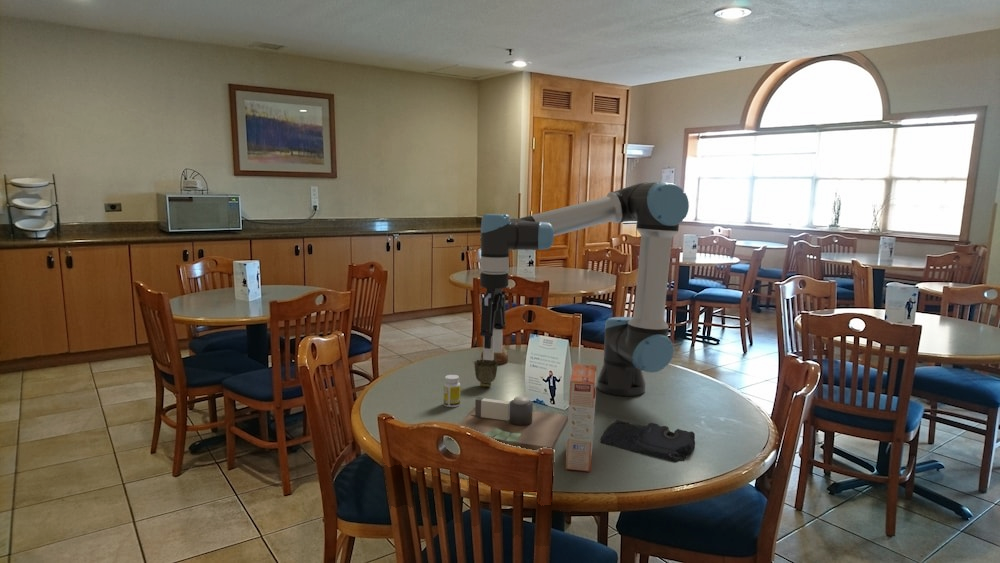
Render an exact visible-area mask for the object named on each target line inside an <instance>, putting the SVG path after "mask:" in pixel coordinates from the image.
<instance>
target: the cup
mask: <svg viewBox="0 0 1000 563" xmlns="http://www.w3.org/2000/svg"><path fill="white" fill-rule="evenodd" d="M498 365H499V364H498V363H497V362H496V360H495V361H494V362H493V360H492V361H491V362H490V360H484V362H483V360H482V359H481V360H479V359H476V360H475V361H474V373H475V378H476V380H477V381H478V382H479V385H480V387H481V388H484V387H485V388H486V387H488V388H491V386H492V382H494V381H495V380H496V377H497V370H498ZM485 388H484V389H485Z"/></svg>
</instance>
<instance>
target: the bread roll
mask: <svg viewBox="0 0 1000 563" xmlns="http://www.w3.org/2000/svg"><path fill="white" fill-rule="evenodd" d="M480 358H481V360H483V350H482V352H481V355H480ZM495 360H496V362H497V363H498V365H506V364H507V363H508V361H509V353H508V350H507V349H506V348H505V347H503V346H502V353H495V352H494V360H493V362H494V361H495ZM491 361H492V360H490V362H491ZM483 362H484V360H483Z"/></svg>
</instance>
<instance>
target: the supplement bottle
mask: <svg viewBox="0 0 1000 563" xmlns="http://www.w3.org/2000/svg"><path fill="white" fill-rule="evenodd" d="M460 405H461V383H460V376H459V375H457V374H448V375H445V377H444V383H443V406H445V407H448V408H457V407H459V406H460Z"/></svg>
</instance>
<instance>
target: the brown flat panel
mask: <svg viewBox="0 0 1000 563" xmlns="http://www.w3.org/2000/svg"><path fill="white" fill-rule="evenodd" d="M458 424H459V425H461V426H465V427H469V428H471V429H474V430H476V431H479V432H481V433H483V434H485V435H487V436H489V437H491V438H493V439H495V440H497V441H499V442H502V443H505V444H509V445H513V446H520V447H525V448H524V449H526V448H529V449H528V450H532V449H539V448H543V447H547V448H553V449H554V448H555V447H556V444H557V442H558V441H559V438H560V436H561V434H562V432H563V431H564V428H565V427H566V425H567V424H568V414H567V415H566V414H561V413H560V414H558V413H553V412H552V413H550V412H546V411H545V412H543V411H536V410H533V415H532V423H531V424H528V425H515V424H512V423H511V422H510V419H509V420H508V421H506V420H499V419H491V418H484V417H476V416H475V407H473V409H472V410H470V412H468V413H467V415H466V416H465V417H464V418H463V419H462V420H461V421H460V422H459V423H458Z"/></svg>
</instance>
